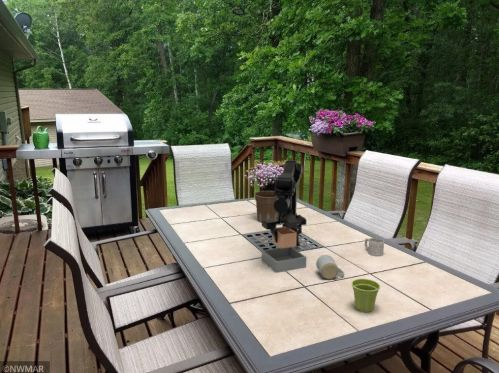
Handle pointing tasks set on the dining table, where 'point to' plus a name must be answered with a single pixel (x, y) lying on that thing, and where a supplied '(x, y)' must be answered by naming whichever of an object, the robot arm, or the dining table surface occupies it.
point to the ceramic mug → (328, 267)
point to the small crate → (285, 237)
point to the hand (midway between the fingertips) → (283, 241)
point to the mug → (375, 246)
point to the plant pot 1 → (266, 205)
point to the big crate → (283, 259)
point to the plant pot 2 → (365, 294)
